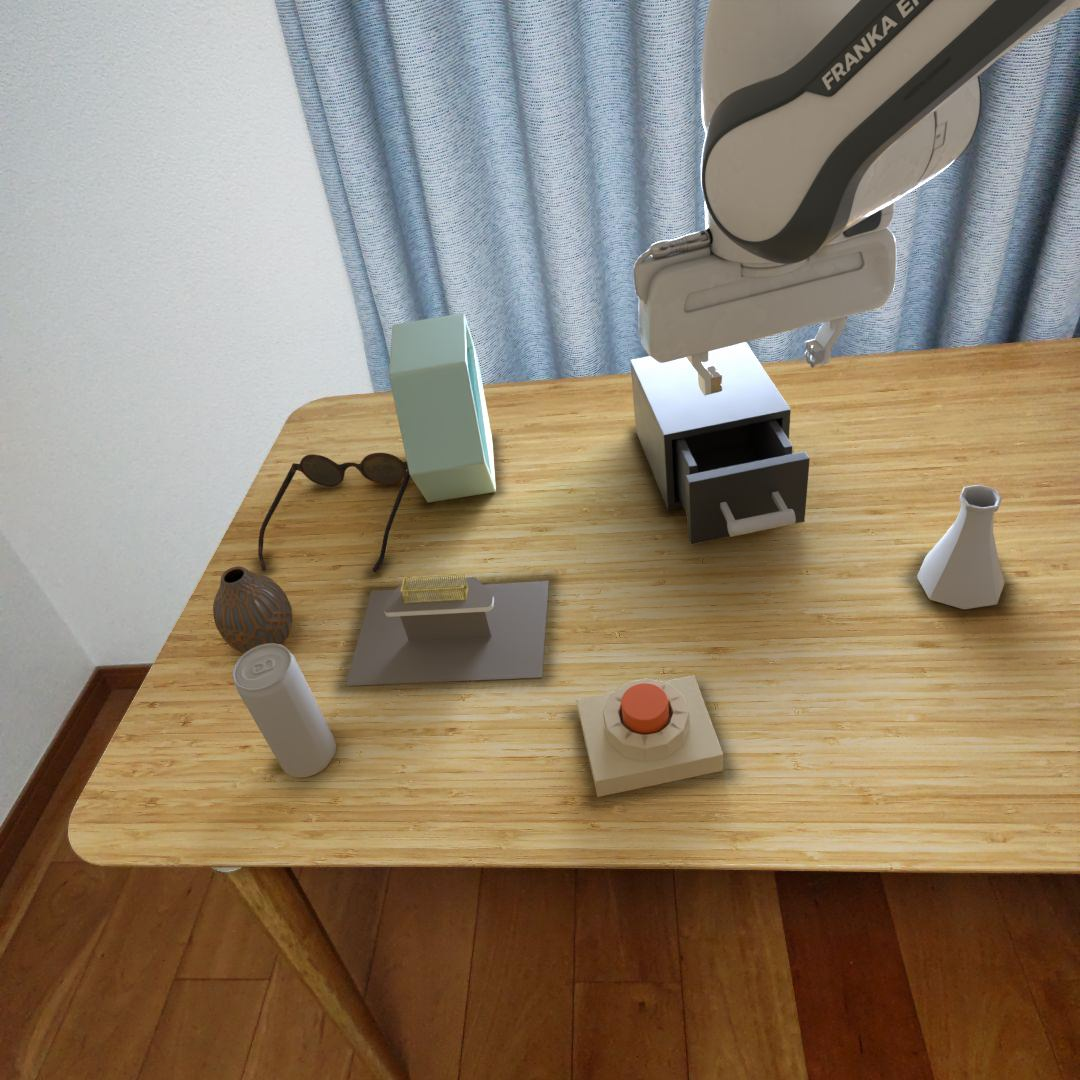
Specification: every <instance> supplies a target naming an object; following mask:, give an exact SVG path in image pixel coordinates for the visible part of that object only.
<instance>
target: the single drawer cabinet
mask: <svg viewBox="0 0 1080 1080" xmlns="http://www.w3.org/2000/svg"><path fill="white" fill-rule="evenodd" d="M629 361H630V373H631V374H630V375H631V386H632V387H631V389H632V398H633V399H632V401H633V412H634V413H633V414H634V425H635V433H636V435H637V438H638V441H639V442H640V445H641V448H642V450H643V452H644V454H645V458H646V459H647V462H648V464H649V467H650V470H651V472H652V475H653V477H654V479H655V482H656V485H657V487H658V489H659V492H660V495H661V497H662V499H663V502H664V504H665V507H666V509H667V510H668V511H670V510H674V509H675V510H676V509H680V508H684V507H683V505H682V503H681V500H680V498H679V496H678V493H677V491H676V489H675V486H674V473H673V451H672V440H675V439H680V438H685V437H690V436H695V435H700V434H704V433H709V432H714V431H719V430H724V429H729V428H734V427H739V426H744V425H749V424H754V423H759V422H764V421H769V420H774V419H776V421H777V422H778V424H779V425H780V427H781V429H782V430H783V432H784V433H785V435H786V437H787V438H788V440H789V441H790V428H791V427H790V426H791V411H792V409H791V408H790V406H789V404H788V403H787V401H786V400H785V399H784V397H783V395H782V394H781V392H780V391H779V389H778V388H777V386H776V385H775V383H774V382H773V380H772V378H771V377H770V375H769V374H768V373H767V372H766V370H765V369H764V367H763V365H762V363H761V362H760V361H759V359H758V358H757V356H756V355H755V353H754V352H753V350H752V349H751V346H750V345H749V344H748V342H743V343H739V344H736V345H732V346H728V347H724V348H720V349H716V350H712V351H708V361H706V362H702V363H703V365H704V366H705V367H707V366H711V365H715V366H716V368H717V371H719V372H720V373H721V375H722V383H721V386H722V391H720V392H717V393H713V394H709V395H704V394H703V393H702V391H701V390H700V387H699V384H698V372H697V371H696V369H695V368H694V367H693V366H692V364H691V363H690V362H689V360H688V359H687V357H684V358H680V359H677V360H673V361H669V362H664V363H660V362H658V361H656V360H655V359H653V358H652V357H651V356H650V355H648V356H643V357H636V358H632V359H629Z"/></svg>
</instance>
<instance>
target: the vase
mask: <svg viewBox="0 0 1080 1080" xmlns="http://www.w3.org/2000/svg"><path fill="white" fill-rule="evenodd" d="M219 581H220V582H219V587H218V589H217V590H216V591H217V592H216V593H215V596H214V598H213V599H214V600H213V604H212V614H213V620H214V624H215V627H216V630H217V631H218V633H219V635H220V636H221V638H222V639H223V641H224V642H226V644H228V645H229V646H230V647H231V648H233V649H234V650H235V651H237V652H239V653H242V654H244V653H246V652H247V651H249V650H250V649H252V648H254V647H256V646H259V645H263V644H269V643H275V644H280V645H282V644H283V643H285V641H286V640H287V638H288V637H289V635H290V632H291V630H292V629H293V628H292V627H293V608H292V605H291V603H290V600H289V597H288V595H287V594H286V592H285V591H284V589H283V588H282V587H281V586H280V585H279V584H278V583H277V582H276V581H275V580H273V579H272V578H271V577H269V576H267V575H265V574H261V573H258V572H254V571H250V570H248V569H247V568H245V567H243V566H241V565H240V566H239V565H237V566H232V567H230V568H228V569H226V570H225V571H224V572H223V573H222V574H221V576H220V580H219Z"/></svg>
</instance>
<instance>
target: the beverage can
mask: <svg viewBox="0 0 1080 1080" xmlns="http://www.w3.org/2000/svg"><path fill="white" fill-rule="evenodd" d="M232 680H233V684H234V687H235V690H236V692H237V693H238V695H239V697H240V699H241V700H242V702H243V704H244V705H245V708H246V709H247V710H248V712H249V714H250V716H251V718H252V719H253V721H254V723H255V724H256V726H257V728H258V730H259V732H260V734H261V735H262V736H263V738H264V740H265V741H266V744H267V745H268V747H269V749H270V751H271V752H272V754H273V755H274V757H275V759H276V761H277V762H278V765H279V766H280V768H281V769H282V770H283V772H285V774H287V775H289V776H291V777H295V778H308V777H312V776H315V775H317V774H320V773H321V772H322V771H323V770H325V769H326V768H327V767H328V766H329V765H330V763H331V762H332V760H333V758H334V756H335V754H336V749H337V742H336V739H335V737H334V735H333V733H332V731H331V729H330V727H329V725H328V723H327V721H326V719H325V717H324V715H323V713H322V711H321V708H320V706H319V704H318V702H317V700H316V698H315V696H314V694H313V692H312V690H311V688H310V686H309V684H308V681H307V680H306V678H305V676H304V674H303V671H302V670H301V668H300V666H299V663H298V661H297V660H296V658H295V655H293V654H292V652H291V651H290V650H289V649H288V648H287V647H286V646H284V645H282V644H281V645H280V644H275V643H269V644H263V645H259V646H256V647H254V648H252V649H250V650H249V651H247V652H246V653H242V655H241V656H240V657H239V658H238V659H237V660H236V662H235V664H234V666H233V669H232Z"/></svg>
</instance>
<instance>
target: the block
mask: <svg viewBox="0 0 1080 1080" xmlns="http://www.w3.org/2000/svg"><path fill="white" fill-rule="evenodd" d="M641 683H649V684H654V685H656V686H658V687H660V688H661V689H662V690H663V691H664V692H665V693H666V695H667V697H668V706H669V718H668V721H667V723H666V724H665V726H664V727H663V728H661V729H660V730H658V731H656V732H654V733H649V734H642V733H638V732H635V731H633V730H631V729H630V728H629V727H628V726H627V725H626V724H625V722H624V720H623V714H622V706H621V700H622V696H623V694H624V693H625V692H626V690H628V689H629V688H630V687H632V686H634V685H636V684H641ZM575 702H576V707H577V712H578V717H579V722H580V726H581V730H582V734H583V738H584V739H583V740H584V743H585V747H586V748H585V749H586V753H587V757H588V761H589V762H588V763H589V766H590V770H591V774H592V779H593V782H594V788H595V793H596V797H597V798H600V797H605V796H609V795H614V794H620V793H624V792H628V791H629V792H630V791H633V790H639V789H642V788H647V787H652V786H657V785H662V784H667V783H671V782H676V781H681V780H686V779H690V778H695V777H700V776H705V775H709V774H715V773H719V772H723V771H724V753H723V749H722V747H721V744H720V741H719V739H718V736H717V732H716V731H715V727H714V725H713V721H712V720H711V716H710V714H709V711H708V709H707V706H706V702H705V699H704V698H703V694H702V692H701V689H700V686H699V683H698V681H697V678H696V675H695V674H693V675H688V676H687V675H686V676H682V677H677V678H673V679H667V680H664V681H661V680H656V679H651V678H647V677H645V678H641V679H637V680H632V681H627V682H624V683H623V684H622V685H620V686H619V687H618V688H616V689H615V690H614V691H609V692H606V693H601V694H595V695H590V696H587V697H581V698H577V699H576V700H575Z"/></svg>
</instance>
